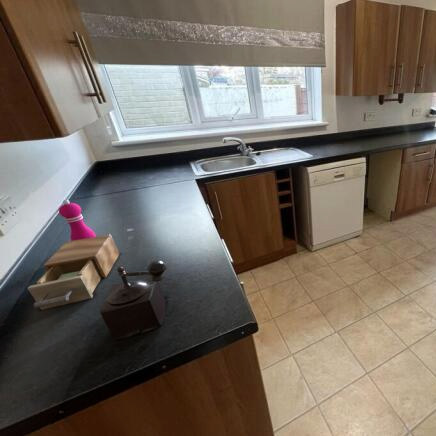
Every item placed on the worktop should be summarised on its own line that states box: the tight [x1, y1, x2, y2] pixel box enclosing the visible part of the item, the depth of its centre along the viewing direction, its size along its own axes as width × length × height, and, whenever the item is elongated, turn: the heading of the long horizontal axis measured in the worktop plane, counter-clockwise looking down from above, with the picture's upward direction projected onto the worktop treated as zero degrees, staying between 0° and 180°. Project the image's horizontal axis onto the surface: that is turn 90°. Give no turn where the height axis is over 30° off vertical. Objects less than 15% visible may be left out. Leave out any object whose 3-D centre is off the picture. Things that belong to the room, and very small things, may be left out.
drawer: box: [27, 258, 103, 310], centre depth 77 cm, size 18×11×8 cm, turn 21°
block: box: [58, 271, 80, 280], centre depth 78 cm, size 4×4×4 cm
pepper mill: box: [58, 199, 97, 241], centre depth 101 cm, size 7×7×20 cm
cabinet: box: [43, 234, 120, 279], centre depth 88 cm, size 15×13×10 cm
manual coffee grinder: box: [99, 260, 167, 341], centre depth 67 cm, size 16×11×18 cm
